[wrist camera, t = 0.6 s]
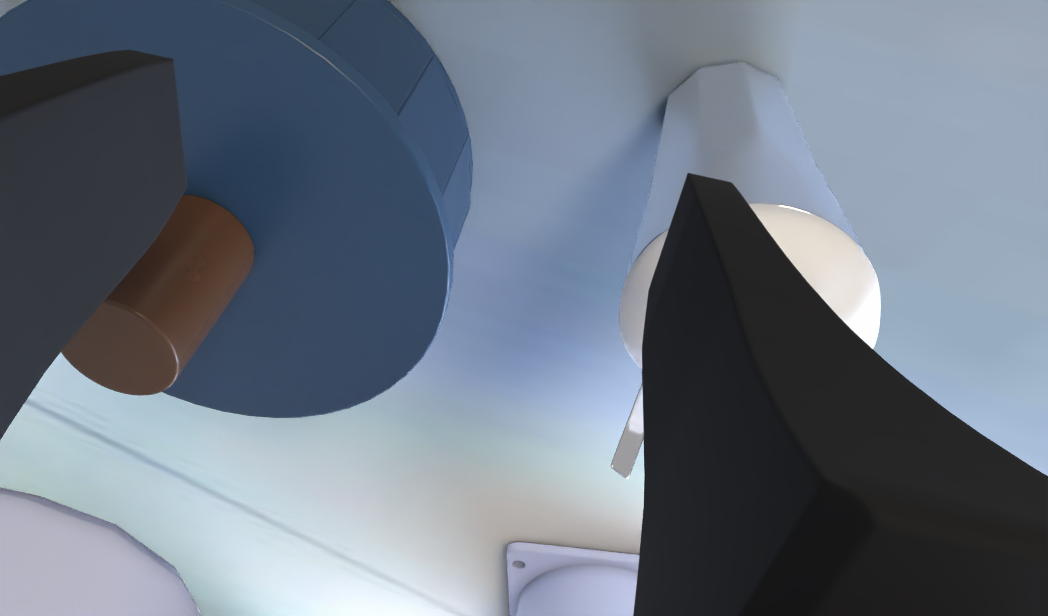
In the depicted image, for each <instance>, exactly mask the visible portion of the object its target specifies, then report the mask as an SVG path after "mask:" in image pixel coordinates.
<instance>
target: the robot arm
mask: <svg viewBox="0 0 1048 616" xmlns="http://www.w3.org/2000/svg"><path fill="white" fill-rule="evenodd" d="M186 188H187V181H186V172H185V163H184V154H183V145H182V135H181V126H180V117H179V108H178V99H177V90H176V80H175V71H174V62H173V59H171V58H166V57H162V56H157V55H152V54H148V53H143V52H139V51H134V50H119V51H110V52H104V53H98V54H93V55H88V56H83V57H78V58H74V59H69V60H65V61H61V62H56V63H52V64H48V65H44V66H40V67H35V68H31V69H27V70H23V71H19V72H15V73H11V74H6V75H2V76H0V440H1V438H2V436H3V435H4V433H5V432H6V430H7V428H8V427H9V425H10V424H11V422H12V421H13V419H14V418H15V416H16V415H17V413H18V412H19V410H20V409H21V407H22V406H23V404H24V403H25V401H26V400H27V398H28V397H29V395H30V394H31V392H32V391H33V389H34V388H35V386H36V385H37V383H38V382H39V380H40V379H41V377H42V376H43V374H44V373H45V371H46V370H47V369H48V367H49V366H50V365H51V364H52V362H53V361H54V360H55V358H56V357H57V356H58V355H59V353H60V352H61V351H62V349H63V348H64V347H65V346H66V345H67V343H68V342H69V341H70V340H71V339H72V338H73V336H74V335H75V334H76V333H77V332H78V331H79V329H80V328H81V327H82V326H83V325H84V324H85V323H86V321H87V320H88V319H89V318H90V317H91V316H92V314H93V313H94V312H95V311H96V310H97V309H98V307H99V306H100V305H101V304H102V303H103V302H104V301H105V299H106V298H107V297H108V296H109V295H110V294H111V292H112V291H113V290H114V289H115V288H116V287H117V285H118V284H119V283H120V282H121V281H122V280H123V279H124V277H125V276H126V275H127V274H128V273H129V271H130V270H131V269H132V268H133V267H134V265H135V264H136V263H137V262H138V261H139V260H140V258H141V257H142V256H143V255H144V254H145V252H146V251H147V250H148V249H149V247H150V246H151V245H152V244H153V243H154V241H155V240H156V239H157V237H158V236H159V234H160V232H161V231H162V229H163V228H164V226H165V224H166V223H167V221H168V220H169V218H170V217H171V215H172V213H173V211H174V210H175V208H176V206H177V204H178V202H179V201H180V199H181V197H182V195H183V194H184V192H185V190H186ZM642 389H643V430H644V470H645V481H644V509H643V521H642V532H641V543H640V554H639V555H637V554H627V553H618V552H609V551H599V550H590V549H581V548H571V547H562V546H553V545H543V544H534V543H524V542H514V543H511V544H510V545H509V546H508V548H507V554H506V558H507V575H508V592H509V609H510V616H1048V476H1047V475H1045V474H1043V473H1041V472H1040V471H1038V470H1036V469H1035V468H1033V467H1031V466H1030V465H1028V464H1027V463H1025V462H1024V461H1022V460H1020V459H1019V458H1017V457H1016V456H1014V455H1013V454H1011V453H1010V452H1008V451H1007V450H1005V449H1003V448H1002V447H1000V446H999V445H997V444H996V443H994V442H993V441H991V440H990V439H988V438H986V437H985V436H983V435H982V434H980V433H979V432H977V431H976V430H975V429H973V428H972V427H970V426H969V425H967V424H966V423H965V422H963V421H962V420H960V419H959V418H957V417H956V416H955V415H953V414H952V413H950V412H949V411H948V410H946V409H945V408H944V407H942V406H941V405H940V404H939V403H937V402H936V401H935V400H933V399H932V398H931V397H929V396H928V395H927V394H926V393H924V392H923V391H922V390H920V389H919V388H918V387H917V386H915V385H914V384H913V383H911V382H910V381H909V380H908V379H906V378H905V377H904V376H903V375H901V374H900V373H899V372H898V371H897V370H896V369H894V368H893V367H892V366H891V365H890V364H888V363H887V362H886V361H885V360H884V359H883V358H882V357H881V356H880V355H878V354H877V353H876V352H875V351H874V350H873V349H872V348H871V347H870V346H869V345H868V344H867V343H866V342H864V341H863V340H862V339H861V338H860V337H859V336H858V335H857V334H856V333H855V332H854V331H853V330H852V329H851V328H850V327H849V326H848V325H847V324H846V323H845V322H844V321H843V320H842V319H841V318H840V317H839V316H838V315H837V314H836V313H835V312H834V311H833V310H832V309H831V308H830V307H829V305H828V304H827V303H826V302H825V301H824V300H823V299H822V298H821V296H820V295H819V294H818V293H817V292H816V291H815V290H814V289H813V287H812V286H811V285H810V284H809V283H808V282H807V281H806V279H805V278H804V277H803V276H802V274H801V273H800V272H799V271H798V270H797V268H796V267H795V266H794V265H793V263H792V262H791V261H790V260H789V258H788V257H787V256H786V255H785V253H784V252H783V251H782V249H781V248H780V247H779V245H778V244H777V243H776V241H775V240H774V239H773V237H772V236H771V235H770V233H769V232H768V231H767V229H766V228H765V226H764V225H763V224H762V222H761V221H760V219H759V218H758V217H757V215H756V214H755V213H754V211H753V210H752V208H751V207H750V206H749V204H748V203H747V201H746V200H745V199H744V197H743V196H742V195H741V193H740V192H739V191H738V189H737V188H736V187H735V186H734V184H733V183H732V182H728V181H723V180H719V179H714V178H710V177H705V176H701V175H696V174H692V173H688V174H687V177H686V180H685V183H684V186H683V189H682V192H681V195H680V198H679V201H678V204H677V206H676V209H675V212H674V215H673V218H672V221H671V224H670V227H669V230H668V233H667V236H666V239H665V242H664V245H663V248H662V251H661V254H660V257H659V260H658V263H657V266H656V269H655V272H654V275H653V278H652V281H651V284H650V287H649V291H648V299H647V307H646V315H645V323H644V332H643V341H642ZM0 616H202V614H201V611H200V609H199V608H198V606H197V604H196V603H195V601H194V599H193V597H192V596H191V594H190V592H189V591H188V589H187V587H186V585H185V584H184V582H183V580H182V579H181V577H180V575H179V573H178V572H177V570H176V568H175V567H174V566H172V565H171V564H170V563H168V562H167V561H165V560H164V559H163V558H161V557H160V556H159V555H157V554H156V553H154V552H153V551H152V550H150V549H149V548H147V547H146V546H145V545H143V544H142V543H141V542H139V541H138V540H136V539H135V538H134V537H132V536H131V535H130V534H128V533H127V532H125V531H124V530H123V529H121V528H120V527H119V526H117V525H115V524H113V523H110V522H107V521H105V520H102V519H99V518H97V517H94V516H91V515H88V514H86V513H83V512H80V511H78V510H75V509H72V508H70V507H67V506H64V505H62V504H59V503H56V502H54V501H51V500H48V499H46V498H43V497H40V496H36V495H32V494H27V493H23V492H18V491H14V490H9V489H5V488H1V487H0Z"/></svg>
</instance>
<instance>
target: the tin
mask: <svg viewBox="0 0 1048 616" xmlns="http://www.w3.org/2000/svg"><path fill="white" fill-rule="evenodd" d="M247 1H249V2H252V3H254V4H257V5H259V6H262V7H264V8H265V9H267V10H269V11H271V12H273V13H275V14H276V15H278V16H280V17H282V18H284V19H286V20H288V21H289V22H291V23H293V24H295V25H297V26H299V27H300V28H301V29H303V30H304V31H306V32H307V33H309V34H310V35H312V36H313V37H314V38H316V39H317V40H319V41H320V42H322V43H323V44H325V45H326V46H327V47H329V48H330V49H332V50H333V51H334V52H335V53H336V54H338V55H339V56H340V57H341V58H342V59H343V60H345V61H346V62H347V63H348V64H349V65H350V66H352V67H353V68H354V69H355V70H356V71H357V72H358V73H360V74H361V75H362V76H363V77H364V78H365V79H366V80H367V81H368V82H369V83H370V84H371V86H372V87H373V88H374V89H375V90H376V91H377V92H378V93H379V94H380V95H381V96H382V97H383V98H384V100H385V101H386V102H387V103H388V104H389V105H390V106H391V108H392V109H393V110H394V112H395V113H396V114H397V116H398V117H399V118H400V120H401V121H402V122H403V124H404V125H405V127H406V128H407V129H408V131H409V132H410V133H411V135H412V136H413V138H414V140H415V141H416V143H417V145H418V147H419V148H420V150H421V152H422V154H423V155H424V157H425V159H426V161H427V162H428V164H429V166H430V168H431V171H432V173H433V176H434V178H435V180H436V183H437V185H438V188H439V190H440V192H441V195H442V197H443V201H444V205H445V209H446V212H447V216H448V220H449V224H450V228H451V237H452V246H453V251H454V249H455V246H456V243H457V241H458V238H459V235H460V232H461V230H462V227H463V224H464V222H465V219H466V216H467V214H468V211H469V206H470V191H471V184H472V165H473V163H472V152H471V141H470V136H469V132H468V127H467V123H466V119H465V115H464V112H463V109H462V107H461V104H460V101H459V99H458V96H457V93H456V91H455V88H454V86H453V85H452V83H451V81H450V79H449V77H448V75H447V73H446V71H445V69H444V67H443V65H442V64H441V62H440V61H439V59H438V58H437V56H436V55H435V53H434V52H433V50H432V49H431V48H430V46H429V45H428V43H427V42H426V40H425V39H424V38H423V37H422V36H421V34H420V33H419V32H418V31H417V30H416V29H415V27H414V26H413V25H412V24H411V23H410V22H409V21H408V19H407V18H406V17H405V16H404V15H403V14H402V13H401V12H399V11H398V10H397V9H396V8H395V7H394V6H393V5H392V4H391V3H390V2H389V1H387V0H247Z"/></svg>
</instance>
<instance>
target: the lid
mask: <svg viewBox="0 0 1048 616" xmlns="http://www.w3.org/2000/svg"><path fill="white" fill-rule="evenodd" d="M119 50H134V51H139V52H143V53H148V54H152V55H157V56H162V57H166V58H171V59H173V62H174V71H175V80H176V90H177V99H178V108H179V117H180V126H181V135H182V145H183V154H184V163H185V172H186V181H187V188H186V190H185V192H184V194H183V195H182V197H181V199H180V201H179V202H178V204H177V206H176V208H175V210H174V211H173V213H172V215H171V217H170V218H169V220H168V221H167V223H166V224H165V226H164V228H163V229H162V231H161V232H160V234H159V236H158V237H157V239H156V240H155V241H154V243H153V244H152V245H151V246H150V247H149V249H148V250H147V251H146V252H145V254H144V255H143V256H142V257H141V258H140V260H139V261H138V262H137V263H136V264H135V265H134V267H133V268H132V269H131V270H130V271H129V273H128V274H127V275H126V276H125V277H124V279H123V280H122V281H121V282H120V283H119V284H118V285H117V287H116V288H115V289H114V290H113V291H112V292H111V294H110V295H109V296H108V297H107V298H106V299H105V301H104V302H103V303H102V304H101V305H100V306H99V307H98V309H97V310H96V311H95V312H94V313H93V314H92V316H91V317H90V318H89V319H88V320H87V321H86V323H85V324H84V325H83V326H82V327H81V328H80V329H79V331H78V332H77V333H76V334H75V335H74V336H73V338H72V339H71V340H70V341H69V342H68V343H67V345H66V346H65V347H64V348H63V349H62V351H61V353H62V354H63V356H64V357H65V358H66V359H67V360H68V362H69V363H70V364H71V365H72V366H73V367H75V368H76V369H77V370H78V371H79V372H80V373H82V374H83V375H84V376H86V377H87V378H89V379H91V380H92V381H94V382H96V383H97V384H99V385H101V386H104V387H106V388H108V389H111V390H114V391H117V392H120V393H124V394H130V395H152V394H156V393H159V392H163V393H166V394H168V395H170V396H173V397H176V398H179V399H182V400H185V401H188V402H191V403H193V404H196V405H200V406H204V407H208V408H212V409H216V410H220V411H224V412H230V413H235V414H241V415H247V416H258V417H271V418H293V417H307V416H315V415H323V414H328V413H332V412H336V411H340V410H344V409H348V408H351V407H353V406H356V405H358V404H361V403H363V402H366V401H368V400H371V399H372V398H374V397H376V396H378V395H379V394H381V393H383V392H385V391H386V390H388V389H390V388H391V387H392V386H394V385H395V384H396V383H397V382H399V381H400V380H401V379H402V378H404V377H405V376H406V375H407V374H409V372H410V371H411V370H412V369H413V368H414V367H415V366H416V365H417V363H418V362H419V361H420V360H421V359H422V358H423V357H424V355H425V353H426V352H427V350H428V349H429V347H430V345H431V344H432V342H433V340H434V339H435V337H436V335H437V332H438V330H439V327H440V325H441V322H442V320H443V317H444V314H445V312H446V309H447V306H448V301H449V296H450V291H451V287H452V282H453V257H454V254H453V246H452V237H451V228H450V224H449V220H448V216H447V212H446V209H445V205H444V201H443V197H442V195H441V192H440V190H439V188H438V185H437V183H436V180H435V178H434V176H433V173H432V171H431V168H430V166H429V164H428V162H427V161H426V159H425V157H424V155H423V154H422V152H421V150H420V148H419V147H418V145H417V143H416V141H415V140H414V138H413V136H412V135H411V133H410V132H409V131H408V129H407V128H406V127H405V125H404V124H403V122H402V121H401V120H400V118H399V117H398V116H397V114H396V113H395V112H394V110H393V109H392V108H391V106H390V105H389V104H388V103H387V102H386V101H385V100H384V98H383V97H382V96H381V95H380V94H379V93H378V92H377V91H376V90H375V89H374V88H373V87H372V86H371V84H370V83H369V82H368V81H367V80H366V79H365V78H364V77H363V76H362V75H361V74H360V73H358V72H357V71H356V70H355V69H354V68H353V67H352V66H350V65H349V64H348V63H347V62H346V61H345V60H343V59H342V58H341V57H340V56H339V55H338V54H336V53H335V52H334V51H333V50H332V49H330V48H329V47H327V46H326V45H325V44H323V43H322V42H320V41H319V40H317V39H316V38H314V37H313V36H312V35H310V34H309V33H307V32H306V31H304V30H303V29H301V28H300V27H299V26H297V25H295V24H293V23H291V22H289V21H288V20H286V19H284V18H282V17H280V16H278V15H276V14H275V13H273V12H271V11H269V10H267V9H265V8H264V7H262V6H259V5H257V4H254V3H252V2H249V1H247V0H27V1H25V2H24V3H22V4H20V5H18V6H17V7H15V8H13V9H11V10H10V11H8V12H7V13H5V14H4V15H3V16H2V17H1V18H0V76H2V75H6V74H11V73H15V72H19V71H23V70H27V69H31V68H35V67H40V66H44V65H48V64H52V63H56V62H61V61H65V60H69V59H74V58H78V57H83V56H88V55H93V54H98V53H104V52H110V51H119Z"/></svg>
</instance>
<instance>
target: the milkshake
mask: <svg viewBox="0 0 1048 616" xmlns="http://www.w3.org/2000/svg"><path fill="white" fill-rule="evenodd" d="M688 173H692V174H696V175H701V176H705V177H710V178H714V179H719V180H723V181H728V182H732V183H733V184H734V186H735V187H736V188H737V189H738V191H739V192H740V193H741V195H742V196H743V197H744V199H745V200H746V201H747V203H748V204H749V206H750V207H751V208H752V210H753V211H754V213H755V214H756V215H757V217H758V218H759V219H760V221H761V222H762V224H763V225H764V226H765V228H766V229H767V231H768V232H769V233H770V235H771V236H772V237H773V239H774V240H775V241H776V243H777V244H778V245H779V247H780V248H781V249H782V251H783V252H784V253H785V255H786V256H787V257H788V258H789V260H790V261H791V262H792V263H793V265H794V266H795V267H796V268H797V270H798V271H799V272H800V273H801V274H802V276H803V277H804V278H805V279H806V281H807V282H808V283H809V284H810V285H811V286H812V287H813V289H814V290H815V291H816V292H817V293H818V294H819V295H820V296H821V298H822V299H823V300H824V301H825V302H826V303H827V304H828V305H829V307H830V308H831V309H832V310H833V311H834V312H835V313H836V314H837V315H838V316H839V317H840V318H841V319H842V320H843V321H844V322H845V323H846V324H847V325H848V326H849V327H850V328H851V329H852V330H853V331H854V332H855V333H856V334H857V335H858V336H859V337H860V338H861V339H862V340H863V341H864V342H866V343H867V344H868V345H869V346H870V347H871V348H872V349H873V347H874V345H875V342H876V339H877V335H878V331H879V323H880V288H879V283H878V279H877V276H876V273H875V270H874V268H873V266H872V264H871V263H870V261H869V259H868V257H867V255H866V253H865V251H864V250H863V248H862V246H861V244H860V242H859V240H858V238H857V236H856V234H855V233H854V231H853V229H852V227H851V225H850V223H849V221H848V219H847V218H846V216H845V214H844V212H843V210H842V208H841V206H840V205H839V203H838V201H837V199H836V197H835V195H834V194H833V192H832V190H831V188H830V187H829V185H828V183H827V182H826V180H825V178H824V176H823V174H822V173H821V171H820V169H819V167H818V165H817V163H816V161H815V159H814V157H813V155H812V152H811V150H810V148H809V146H808V144H807V142H806V139H805V137H804V135H803V133H802V130H801V128H800V126H799V124H798V121H797V119H796V117H795V115H794V112H793V110H792V108H791V106H790V103H789V101H788V99H787V97H786V94H785V92H784V90H783V88H782V85H781V83H780V81H779V80H778V79H776V78H774V77H772V76H770V75H768V74H766V73H764V72H762V71H760V70H758V69H756V68H754V67H752V66H750V65H748V64H746V63H744V62H736V63H730V64H724V65H717V66H710V67H703V68H699V69H698V70H697V71H696V72H695V73H694V74H693V75H692V76H690V77H689V78H688V79H687V80H686V81H685V82H684V83H683V84H682V85H680V86H679V87H678V88H677V89H676V90H675V91H674V92H672V93H671V94H670V95H669V97H668V101H667V106H666V110H665V115H664V120H663V124H662V129H661V133H660V138H659V143H658V148H657V153H656V159H655V164H654V169H653V174H652V180H651V185H650V190H649V195H648V198H647V201H646V205H645V208H644V211H643V214H642V217H641V221H640V224H639V228H638V232H637V235H636V239H635V243H634V247H633V251H632V255H631V259H630V262H629V266H628V270H627V274H626V278H625V282H624V286H623V290H622V295H621V301H620V309H619V325H620V332H621V336H622V340H623V343H624V345H625V347H626V349H627V351H628V353H629V354H630V356H631V357H632V359H633V360H634V361H635V363H636V364H637V365H638V366H639V367H640V369H641V370H642V341H643V332H644V323H645V315H646V307H647V299H648V291H649V287H650V284H651V281H652V278H653V275H654V272H655V269H656V266H657V263H658V260H659V257H660V254H661V251H662V248H663V245H664V242H665V239H666V236H667V233H668V230H669V227H670V224H671V221H672V218H673V215H674V212H675V209H676V206H677V204H678V201H679V198H680V195H681V192H682V189H683V186H684V183H685V180H686V177H687V174H688ZM643 439H644V430H643V389H642V385H641V387H640V390H639V392H638V395H637V397H636V400H635V403H634V405H633V408H632V410H631V413H630V416H629V418H628V421H627V423H626V426H625V428H624V431H623V434H622V436H621V439H620V441H619V444H618V447H617V449H616V452H615V454H614V457H613V460H612V463H611V467H612V469H614V470H615V471H616V472H618V473H619V474H620V475H622V476H623V477H625V478H629V476H630V474H631V471H632V469H633V466H634V463H635V461H636V458H637V455H638V453H639V450H640V447H641V445H642V442H643Z"/></svg>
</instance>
